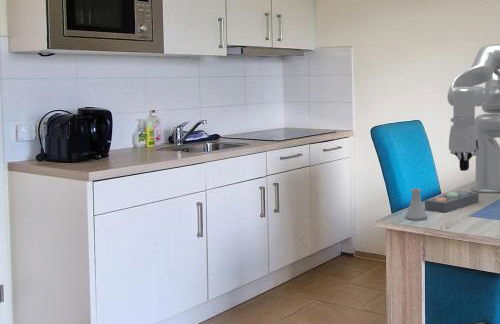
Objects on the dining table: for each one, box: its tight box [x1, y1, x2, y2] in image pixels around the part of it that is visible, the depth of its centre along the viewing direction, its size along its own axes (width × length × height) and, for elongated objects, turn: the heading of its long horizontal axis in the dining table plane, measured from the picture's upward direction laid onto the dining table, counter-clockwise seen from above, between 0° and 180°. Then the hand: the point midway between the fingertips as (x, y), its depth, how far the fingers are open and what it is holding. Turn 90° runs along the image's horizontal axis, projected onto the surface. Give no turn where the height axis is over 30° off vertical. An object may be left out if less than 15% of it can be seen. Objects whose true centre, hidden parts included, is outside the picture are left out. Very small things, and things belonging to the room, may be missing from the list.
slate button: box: [458, 190, 470, 195], centre depth 233 cm, size 4×4×3 cm
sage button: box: [446, 191, 458, 198], centre depth 228 cm, size 4×4×3 cm
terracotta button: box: [434, 197, 447, 202], centre depth 222 cm, size 4×4×3 cm
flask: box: [405, 188, 428, 221], centre depth 210 cm, size 7×7×10 cm
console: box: [424, 190, 480, 213], centre depth 228 cm, size 24×8×4 cm, turn 132°
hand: (464, 170), depth 232 cm, fingers closed
